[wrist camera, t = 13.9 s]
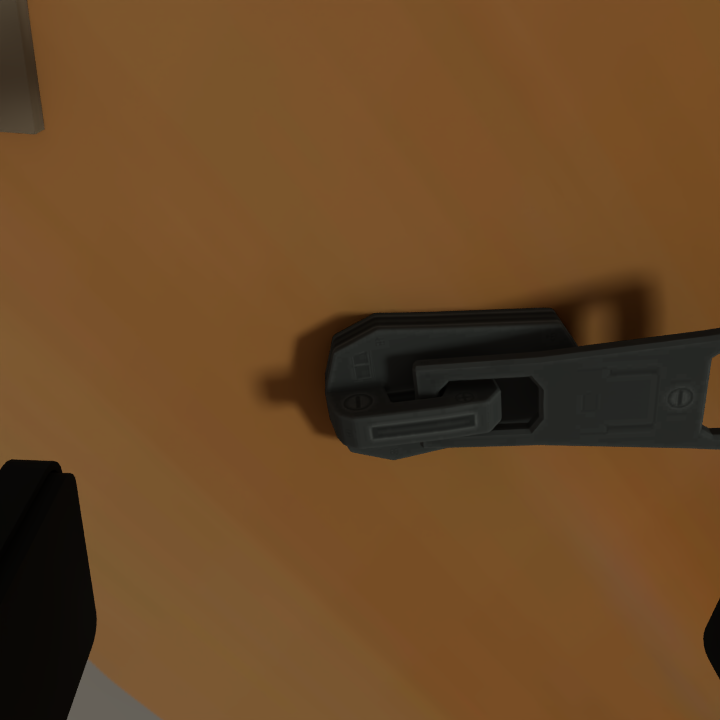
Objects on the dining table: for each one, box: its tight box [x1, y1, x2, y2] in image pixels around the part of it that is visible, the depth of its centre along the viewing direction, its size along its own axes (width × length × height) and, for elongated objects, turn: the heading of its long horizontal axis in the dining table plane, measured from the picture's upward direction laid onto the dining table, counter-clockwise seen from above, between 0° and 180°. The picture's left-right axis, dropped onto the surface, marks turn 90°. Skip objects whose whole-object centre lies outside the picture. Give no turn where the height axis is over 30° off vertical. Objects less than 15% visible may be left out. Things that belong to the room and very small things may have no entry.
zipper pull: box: [325, 308, 720, 460], centre depth 38 cm, size 9×7×25 cm
